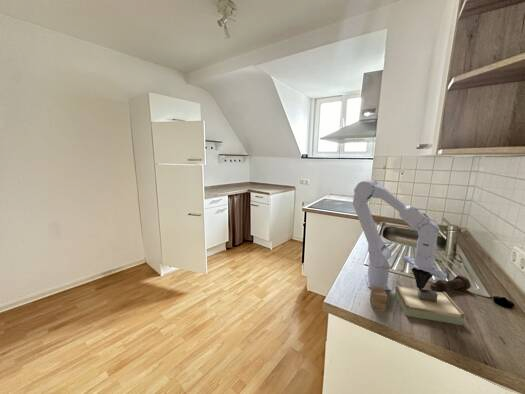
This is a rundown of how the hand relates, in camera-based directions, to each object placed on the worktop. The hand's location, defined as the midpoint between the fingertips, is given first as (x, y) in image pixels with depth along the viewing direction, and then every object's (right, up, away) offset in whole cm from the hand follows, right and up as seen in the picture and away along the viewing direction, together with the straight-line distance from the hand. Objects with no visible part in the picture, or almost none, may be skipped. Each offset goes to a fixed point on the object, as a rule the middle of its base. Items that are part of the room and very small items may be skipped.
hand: (420, 287), depth 83 cm
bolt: (+15, -4, +6) cm, 17 cm away
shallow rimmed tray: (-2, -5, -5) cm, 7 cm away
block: (-18, -5, -3) cm, 19 cm away
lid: (-2, -3, -5) cm, 6 cm away
